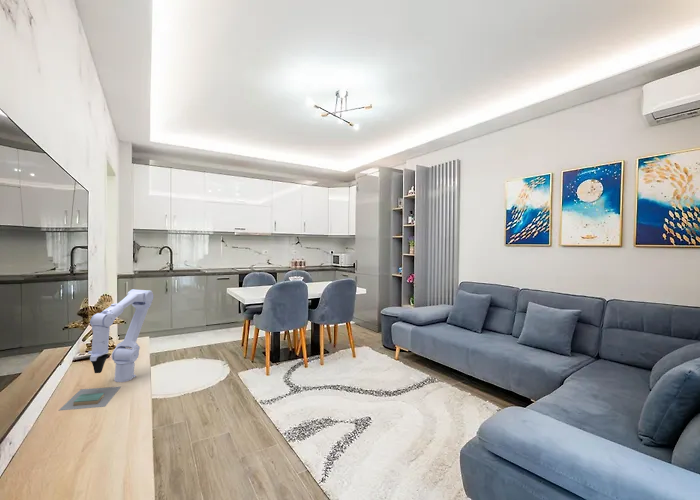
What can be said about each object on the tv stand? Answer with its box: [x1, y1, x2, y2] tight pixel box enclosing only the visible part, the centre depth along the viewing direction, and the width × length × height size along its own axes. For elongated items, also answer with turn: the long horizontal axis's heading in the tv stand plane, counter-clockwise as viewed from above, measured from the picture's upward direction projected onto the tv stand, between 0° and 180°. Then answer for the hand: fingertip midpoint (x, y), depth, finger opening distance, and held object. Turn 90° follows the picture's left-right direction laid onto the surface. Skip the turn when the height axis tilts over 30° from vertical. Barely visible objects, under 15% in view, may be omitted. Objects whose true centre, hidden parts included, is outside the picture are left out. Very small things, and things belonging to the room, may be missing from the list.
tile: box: [73, 393, 104, 406], centre depth 134 cm, size 2×8×7 cm
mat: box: [58, 386, 121, 411], centre depth 137 cm, size 20×15×1 cm
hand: (98, 372), depth 141 cm, fingers closed
